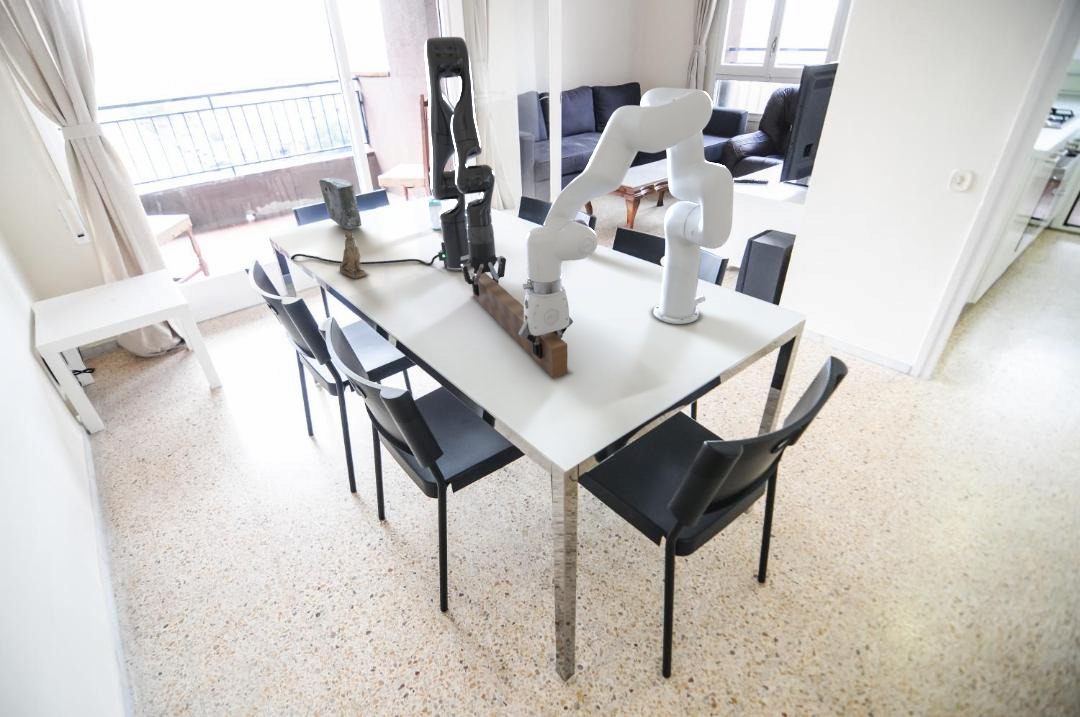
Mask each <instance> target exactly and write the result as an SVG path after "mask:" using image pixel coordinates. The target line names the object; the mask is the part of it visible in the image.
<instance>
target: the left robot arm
mask: <svg viewBox="0 0 1080 717" xmlns="http://www.w3.org/2000/svg"><path fill="white" fill-rule="evenodd" d="M424 62H425V71H426V73H425V74H426V81H427V90H428V91H427V92H428V119H429V120H428V127H429V129H428V130H429V142H430V144H429V145H430V192H431V195H432V197H433V199H435V200H437V201H442V202H445V201H453V202H452V203H451V204H450V205H448V206H447V207H444V210H442V211H441V212H440V223H441V229H440V230H441V235H442V242H441V243H440V246H441V249H440V250H439V251H438V252H437V254H435V255H434V256H433V257H432V258H431V260H430V262H426V261H424V260H422V259H418V258H405V259H403V258H402V259H395V260H394V259H393V260H380V261H378V260H377V261H360V265H378V264H379V265H382V264H392V263H393V264H395V263H406V262H418V263H420V264H422V265H425V266H432V265H433V264H434V262H435V260H436V259H438V261H439V262H443V267H444V269H445V270H449V271H454V272H459V271H461V273H462V275H463V278H464V281H465V282H466V283H467V285H471V288H472V292H473V293H474V294H475V295H476V296H479V286H478V281H479V278H480V276H481V274H483V273H489V274H490V275H491V278H492V279H493V280H494V281H495V282H497V283H498V284H499V285H500V283H499V282H500V279H501V278H504V277H505V272H506V264H507V259H506V258H505V257H504V256H503V255H500V256H497V255H496V244H495V232H494V231H495V230H494V226H493V220H492V202H493V201H492V199H493V193H494V189H495V184H496V183H495V182H496V176H495V172H494V170H493V168H492V167H491V166H490V165H489V164H486V163H483V164H475V165H467V164H468V161H469V160H473V159H475V158H477V157H479V156H480V155H481V154H482V151H483V148H482V142H481V137H480V133H479V128H478V124H477V117H476V110H475V98H474V86H473V77H472V68H471V66H472V65H471V58H470V54H469V48H468V45H467V43H466V41H465V40H464V38H463V37H461V36H435V37H429V38H428V39H426V41H425V44H424ZM454 78H455V79H457V78H458V79H459V94H458V98H457V101H456V103H455V107H454V105H453V104H452V103H451V101H450V100H449V99H448V96H447V95H446V93H445V91H444V90H443V88H442V85H441V80H442V79H454ZM453 155H455V161H456V162H455V164H456V166H455V169H451V170H445V168H446V166H447V164H448V162H449V161H450V160H451V158H452V157H453ZM479 193H480V194H479ZM471 194H479V196H478V197H477V198H475V199H473V200H471V201H468V202H467V203H466V195H471ZM297 257H303V258H310V259H315V260H319V261H322V262H327V263H333V264H340V265H341V264H342V260H333V259H328V258H323V257H320V256H317V255H309V254H304V253H295V254H293V255H292V256H291V257H290V260H294V259H295V258H297ZM496 263H497V264H498V265H497V271H496V268H495V265H496ZM471 268H472V272H471V273H472V277H471V274H470V273H469V271H470V269H471Z"/></svg>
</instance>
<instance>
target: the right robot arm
mask: <svg viewBox="0 0 1080 717" xmlns="http://www.w3.org/2000/svg"><path fill="white" fill-rule="evenodd" d="M712 115H713V101H712V99H711V96H710V95H709V94H708V93H707V92H706V91H704V90H701V89H699V88H698V89H697V88H681V87H680V88H679V87H655V88H650V89H649V90H647V91H646V92H645V93H644V94H643V95H642V97H641V99H640V104H639V105H634V104H633V105H632V104H631V105H628V104H627V105H622V106H620V107H618V108H616V109H615V111H613V113H612V114H611V116H610V117H609V119H608V121H607V123H606V125H605V127H604V129H603V131H602V134H601V136H600V137H599V140H598V142H597V144H596V146H595V148H594V150H593V152H592V155H591V156H590V158H589V160H588V162H587V165H586V167H585V168H584V170H583V171H582V172H581V173H580V174H578V175H577V176H576V177H574V179H572V180H571V181H570V182H569V183H568V184H567V185H566V186H565V187H564V188H563V189H562V190H561V191H560V192H559V193H558V195H556V198H555V199H554V201H552V204H551V206H550V209H549V210H548V213H547V215H546V217H545V219H544V222H543V225H542V226H540V227H535V228H532V229H530V230H529V231H528V232H527V233H526V236H525V244H526V246H525V247H526V265H527V267H526V268H527V279H526V282H525V283H522V288H523V290H524V291H525V295H524V302H523V306H524V324H523V325H522V327H521V329H520V331H519V333H518V334H519V335H520V336H521V337H523V338H525V339H528V340H530V341H531V342H532V343H533V353H534V355H536V356H537V357H538V358H539V359H542V344H541V343H540V338H541V335H543V334H547V333H550V332H554V333H555V334H556V335H558V336H559V337H560V338H561V339H562V338H563V337H564V336H563V335H564V334H565V332H566V331H567V329H568V328H569V327H570V326H571V325H572V324H573V323H574V320H573V319H572V318H571V316H570V310H569V309H570V308H569V302H568V295H567V291H566V287H565V286H563V285H562V282H563V280H562V263H563V262H566V261H568V262H569V261H580V260H584V259H587V258H589V257H591V256H592V255H593V254H594V253H595V251H596V250H597V248H598V243H599V239H598V235H597V234H596V232H595V231H594V230H593V229H592V227H590V226H589V227H587V226H585V225H583V224H580V223H578V222H575V221H574V220H576V217H577V215H578V214H579V212H580V211H581V210H582V209H583V207H585V206H586V205H587V204H588V203H589V202H591V201H592V200H595V199H597V198H599V197H603V196H605V195H608V194H611V193H613V192H615V191H617V190H618V189H619V188H621V186H622V185H623V184H622V183H623V181H624V180H625V178H626V175H627V173H628V171H629V170H630V167H631V165H632V164H633V162H634V160H635V158H636V156H637V154H638V152H642V153H649V154H656V153H660V152H663V151H666V163H667V165H666V167H667V184H668V190H669V193H670V195H672V197H673V198H675V199H678V200H680V201H677V202H675V203H673V204H671V206H670V207H669V208H668V209H667V211H666V212H665V215H664V220H663V229H664V240H665V245H664V246H665V248H664V260H663V269H662V278H661V288H660V289H661V290H660V298H659V303H658V304H656V305H655V306H654V308H653V315H654V317H655V318H656V319H658V320H660V321H662V322H664V323H668V324H672V325H673V324H675V325H685V324H690V323H693V322H695V321H697V320H698V319H699V316H700V311H699V310H698V309H697V306H698V305H699V304H701V303H704V302H705V301H706V297H705V295H699V296H697V291H698V284H699V277H700V271H701V270H700V269H701V262H702V249H701V247H702V248H706V249H710V250H711V249H712V250H714V249H718V248H721V247H722V246H724V245H725V244H726V242H727V241H728V240H729V237H730V235H731V233H732V227H733V215H734V214H733V213H734V178H733V175H732V173H731V171H730V170H729V169H728V168H727V166H725V165H722V164H720V163H715V162H710V161H707V160H706V156H705V145H704V143H705V142H704V134H703V130H704V129H705V128H706V127H707V125H708V124H709V122H710V120H711V118H712ZM528 329H529V331H530V333H531V334H530V333H527V331H528Z"/></svg>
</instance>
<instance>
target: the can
mask: <svg viewBox="0 0 1080 717" xmlns="http://www.w3.org/2000/svg"><path fill="white" fill-rule="evenodd" d="M426 207H427V211H428V212H427V213H428V219H429V226H430V228H431V229H433V230H442V229H441V223H440V212H441V211H442V210H444V209H445V205H444V201H437V200H435V199H434V198H432V199H428V201H427V204H426Z"/></svg>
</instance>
